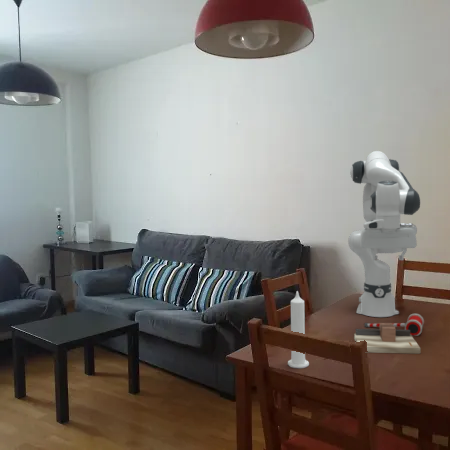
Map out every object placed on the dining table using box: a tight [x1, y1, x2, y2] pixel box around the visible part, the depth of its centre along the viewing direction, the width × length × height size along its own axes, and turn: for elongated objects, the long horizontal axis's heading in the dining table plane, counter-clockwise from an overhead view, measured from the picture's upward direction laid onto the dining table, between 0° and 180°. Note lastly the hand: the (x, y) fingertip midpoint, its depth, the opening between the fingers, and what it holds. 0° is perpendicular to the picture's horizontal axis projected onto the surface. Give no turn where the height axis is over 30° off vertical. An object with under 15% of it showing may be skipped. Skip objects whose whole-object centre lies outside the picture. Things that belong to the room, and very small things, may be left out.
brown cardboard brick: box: [379, 322, 397, 342], centre depth 185 cm, size 7×4×5 cm, turn 171°
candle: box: [287, 290, 310, 369], centre depth 166 cm, size 7×7×25 cm
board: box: [353, 328, 421, 355], centre depth 183 cm, size 16×21×4 cm
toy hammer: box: [363, 313, 425, 337], centre depth 203 cm, size 23×12×6 cm, turn 65°
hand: (388, 260), depth 187 cm, fingers open, 8 cm apart
